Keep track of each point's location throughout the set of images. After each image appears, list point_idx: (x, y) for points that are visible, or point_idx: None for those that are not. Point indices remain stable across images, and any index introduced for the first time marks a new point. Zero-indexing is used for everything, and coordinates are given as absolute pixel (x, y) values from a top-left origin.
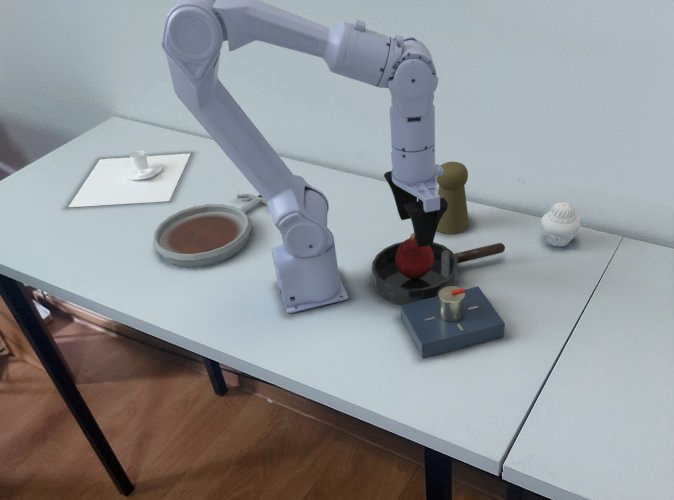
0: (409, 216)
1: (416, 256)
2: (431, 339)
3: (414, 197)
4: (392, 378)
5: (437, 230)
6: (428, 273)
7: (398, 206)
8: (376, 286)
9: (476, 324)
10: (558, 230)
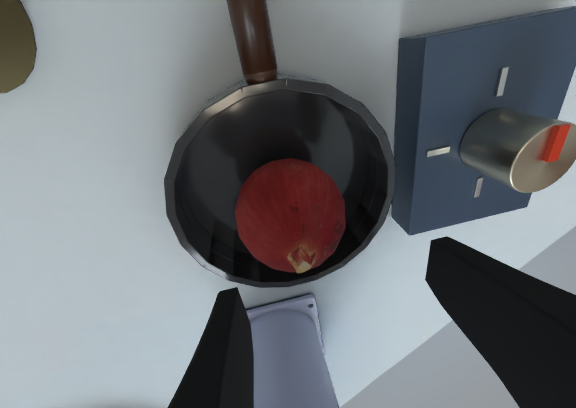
0: (243, 311)
1: (343, 231)
2: None
3: (226, 388)
4: (507, 234)
5: (15, 86)
6: (267, 152)
7: (253, 398)
8: None
9: (551, 87)
10: None
